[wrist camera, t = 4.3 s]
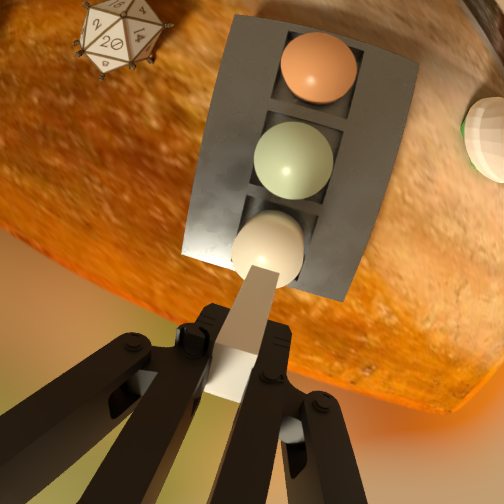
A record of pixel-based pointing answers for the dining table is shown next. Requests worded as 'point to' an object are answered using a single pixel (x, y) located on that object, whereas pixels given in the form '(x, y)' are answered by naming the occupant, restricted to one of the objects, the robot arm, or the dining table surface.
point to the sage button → (293, 160)
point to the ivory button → (270, 245)
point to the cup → (486, 137)
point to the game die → (119, 34)
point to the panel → (318, 116)
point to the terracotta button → (318, 68)
